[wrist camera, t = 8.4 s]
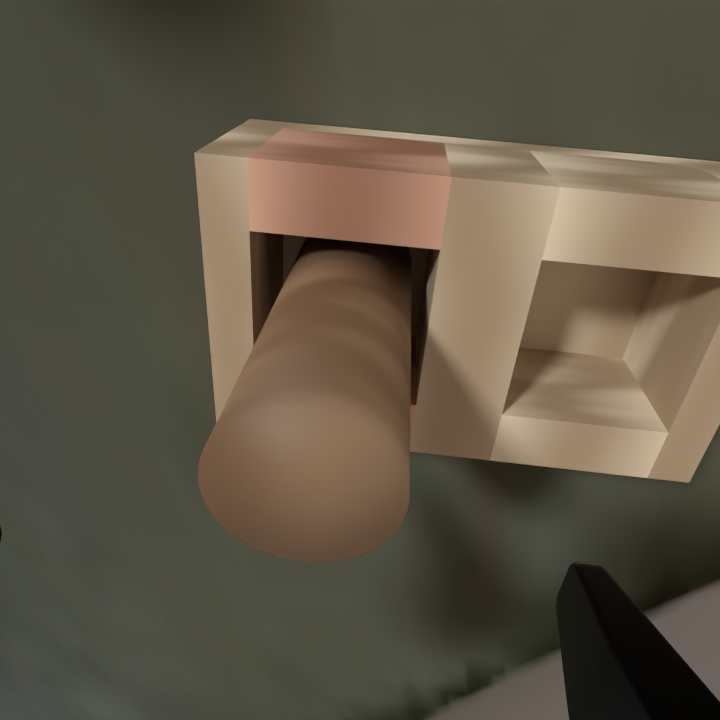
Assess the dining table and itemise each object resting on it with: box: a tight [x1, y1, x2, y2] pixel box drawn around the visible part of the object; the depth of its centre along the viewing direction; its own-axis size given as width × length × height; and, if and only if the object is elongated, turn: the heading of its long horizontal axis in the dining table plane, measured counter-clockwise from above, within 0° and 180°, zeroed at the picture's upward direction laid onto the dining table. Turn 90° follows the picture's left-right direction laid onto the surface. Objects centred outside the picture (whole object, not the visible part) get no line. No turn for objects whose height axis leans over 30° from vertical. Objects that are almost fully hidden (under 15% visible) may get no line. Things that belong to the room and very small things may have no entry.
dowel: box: [198, 237, 412, 563], centre depth 14 cm, size 4×4×10 cm
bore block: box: [194, 119, 720, 483], centre depth 16 cm, size 14×8×5 cm, turn 86°
